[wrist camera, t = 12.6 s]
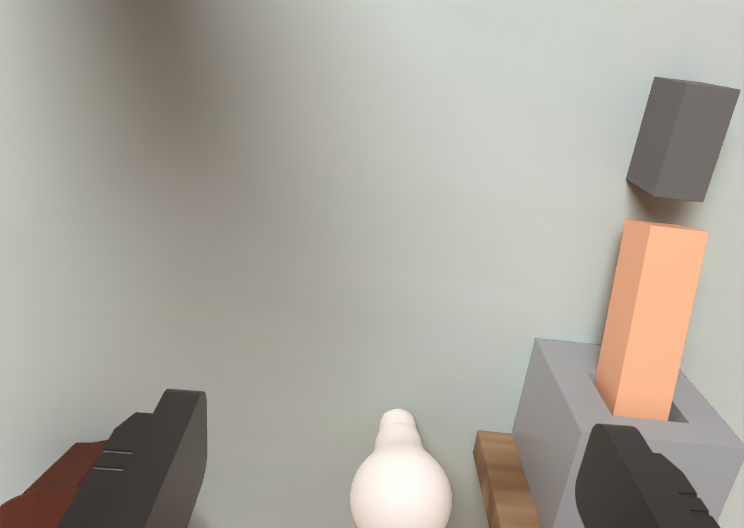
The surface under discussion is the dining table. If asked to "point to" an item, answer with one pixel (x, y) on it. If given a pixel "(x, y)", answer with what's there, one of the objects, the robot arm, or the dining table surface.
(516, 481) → the wooden board
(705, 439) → the block
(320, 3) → the dining table surface
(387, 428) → the lightbulb
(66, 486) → the muffin
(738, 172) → the dining table surface
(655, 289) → the dowel
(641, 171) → the block
